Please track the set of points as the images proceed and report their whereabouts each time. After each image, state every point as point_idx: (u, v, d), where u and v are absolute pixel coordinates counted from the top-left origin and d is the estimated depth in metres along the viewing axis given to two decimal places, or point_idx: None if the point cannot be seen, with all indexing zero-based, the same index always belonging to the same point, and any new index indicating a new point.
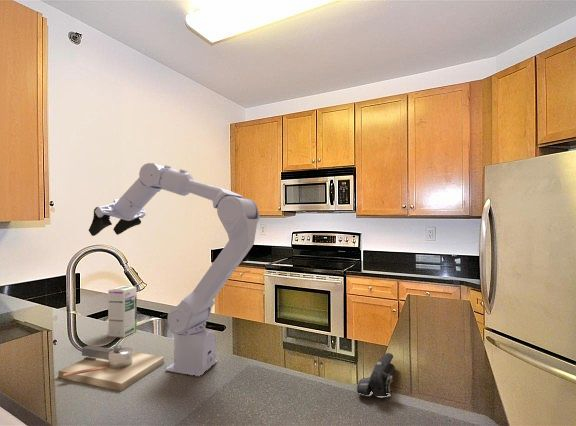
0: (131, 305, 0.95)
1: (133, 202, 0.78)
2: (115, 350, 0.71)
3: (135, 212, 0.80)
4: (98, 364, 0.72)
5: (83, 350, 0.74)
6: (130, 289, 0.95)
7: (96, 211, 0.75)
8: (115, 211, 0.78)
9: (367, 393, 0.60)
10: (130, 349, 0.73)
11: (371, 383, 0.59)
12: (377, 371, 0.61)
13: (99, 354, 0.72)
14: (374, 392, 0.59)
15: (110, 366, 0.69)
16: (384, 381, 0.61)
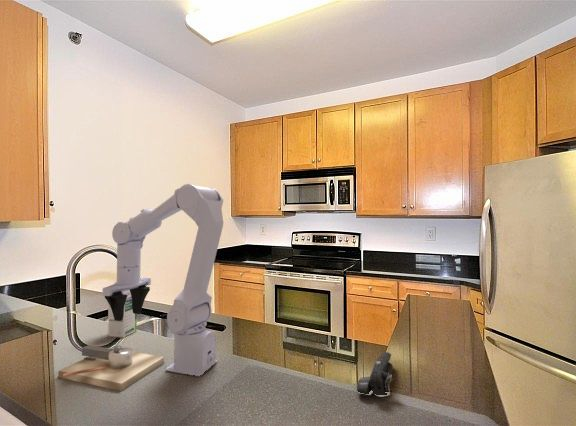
0: (131, 305, 0.95)
1: (126, 265, 0.80)
2: (115, 350, 0.71)
3: (136, 274, 0.82)
4: (98, 364, 0.72)
5: (83, 350, 0.74)
6: None
7: (103, 293, 0.76)
8: (120, 285, 0.80)
9: (367, 392, 0.60)
10: (130, 349, 0.73)
11: (371, 382, 0.60)
12: (377, 370, 0.62)
13: (99, 354, 0.72)
14: (374, 391, 0.60)
15: (110, 366, 0.69)
16: (384, 380, 0.61)
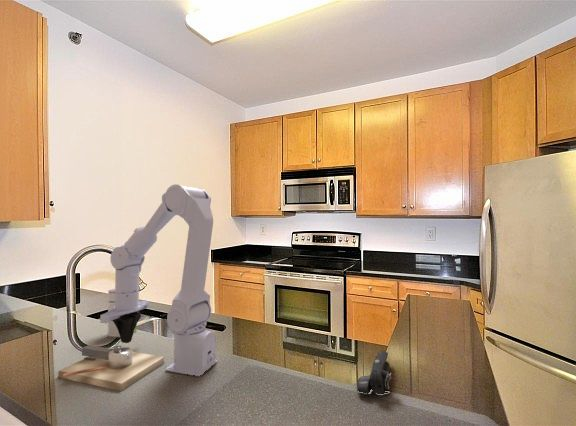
0: None
1: (125, 291, 0.80)
2: (115, 350, 0.71)
3: (135, 299, 0.81)
4: (98, 364, 0.72)
5: (83, 350, 0.74)
6: None
7: (101, 320, 0.75)
8: (118, 311, 0.79)
9: (367, 391, 0.60)
10: (130, 349, 0.73)
11: (371, 381, 0.60)
12: (377, 369, 0.62)
13: (99, 354, 0.72)
14: (374, 390, 0.60)
15: (110, 366, 0.69)
16: (383, 379, 0.62)
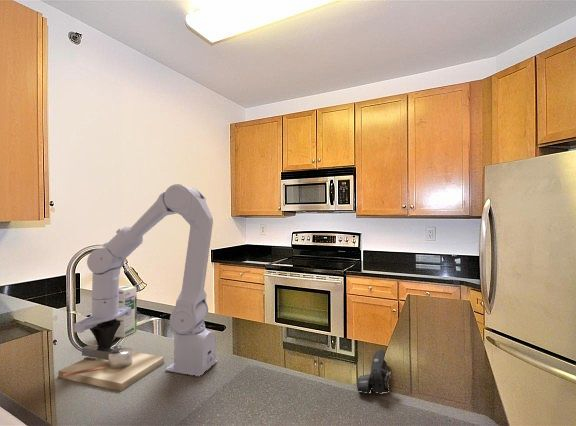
0: (131, 305, 0.95)
1: (107, 296, 0.74)
2: (115, 350, 0.71)
3: (114, 306, 0.75)
4: (98, 364, 0.72)
5: (83, 350, 0.74)
6: (130, 289, 0.95)
7: (75, 330, 0.69)
8: (95, 319, 0.73)
9: (368, 390, 0.61)
10: (130, 349, 0.73)
11: (372, 380, 0.61)
12: (376, 368, 0.63)
13: (99, 354, 0.72)
14: (375, 389, 0.61)
15: (110, 366, 0.69)
16: (383, 377, 0.62)
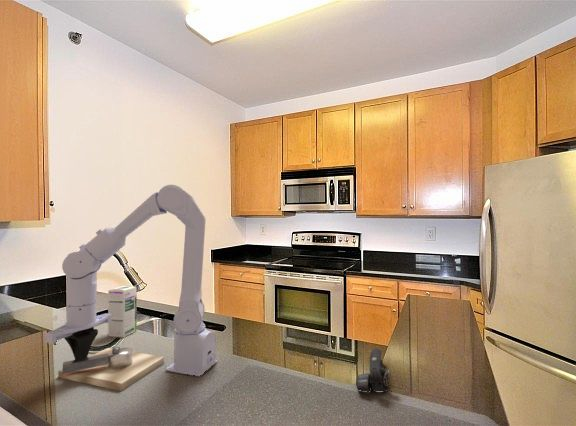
0: (131, 305, 0.95)
1: (86, 302, 0.68)
2: (117, 351, 0.71)
3: (90, 313, 0.69)
4: None
5: (65, 367, 0.65)
6: (130, 289, 0.95)
7: (46, 340, 0.63)
8: (69, 328, 0.67)
9: (368, 389, 0.61)
10: (125, 348, 0.74)
11: (372, 379, 0.61)
12: (376, 367, 0.63)
13: (92, 363, 0.68)
14: (374, 387, 0.61)
15: (119, 366, 0.69)
16: (382, 376, 0.63)
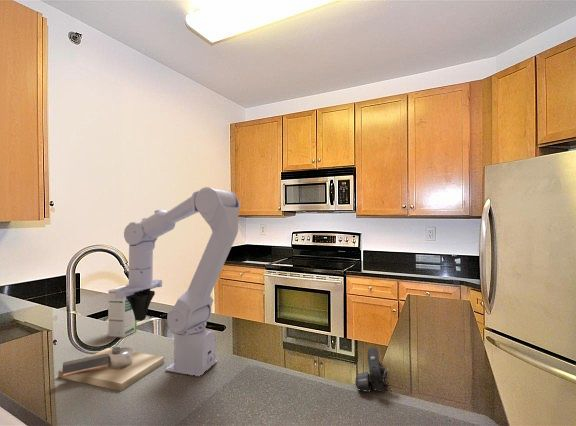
0: None
1: (139, 267, 0.78)
2: (117, 351, 0.71)
3: (149, 276, 0.80)
4: None
5: (65, 367, 0.65)
6: None
7: (116, 296, 0.74)
8: (133, 287, 0.77)
9: (368, 388, 0.61)
10: (125, 348, 0.74)
11: (372, 378, 0.61)
12: (375, 365, 0.64)
13: (92, 363, 0.68)
14: (374, 386, 0.62)
15: (119, 366, 0.69)
16: (381, 374, 0.64)
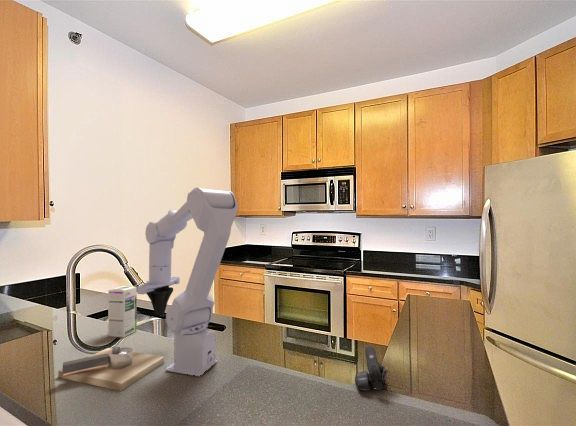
0: (131, 306, 0.95)
1: (155, 264, 0.82)
2: (117, 351, 0.71)
3: (168, 273, 0.84)
4: None
5: (65, 367, 0.65)
6: (130, 289, 0.95)
7: (138, 292, 0.78)
8: (153, 284, 0.81)
9: (368, 387, 0.62)
10: (125, 348, 0.74)
11: (372, 376, 0.62)
12: (374, 364, 0.64)
13: (92, 363, 0.68)
14: (374, 385, 0.62)
15: (119, 366, 0.69)
16: (381, 373, 0.64)
